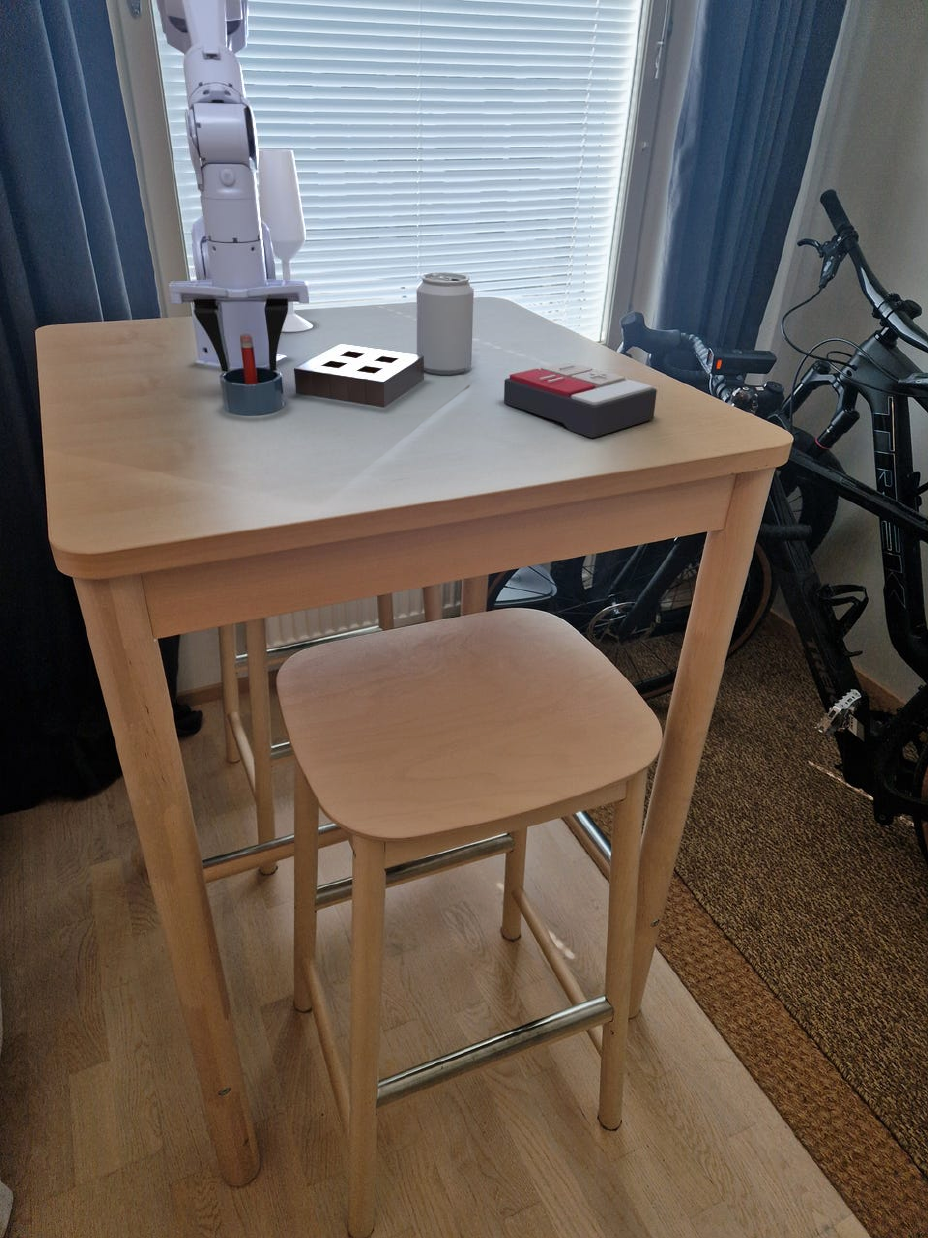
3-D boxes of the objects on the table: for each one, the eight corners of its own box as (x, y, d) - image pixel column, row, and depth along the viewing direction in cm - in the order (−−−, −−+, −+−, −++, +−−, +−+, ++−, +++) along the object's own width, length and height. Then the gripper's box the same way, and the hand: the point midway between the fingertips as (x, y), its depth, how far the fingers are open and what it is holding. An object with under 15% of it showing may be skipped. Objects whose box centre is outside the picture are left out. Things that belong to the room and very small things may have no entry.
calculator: (566, 358, 102) (659, 382, 93) (564, 391, 105) (655, 418, 95) (502, 372, 97) (595, 400, 87) (502, 407, 99) (592, 438, 89)
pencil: (245, 406, 93) (236, 336, 89) (252, 402, 95) (244, 333, 90) (256, 408, 93) (247, 337, 89) (262, 404, 94) (255, 334, 90)
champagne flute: (279, 319, 129) (262, 147, 116) (319, 322, 128) (306, 149, 115) (262, 329, 124) (243, 150, 110) (303, 333, 123) (289, 152, 109)
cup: (212, 414, 92) (207, 379, 90) (246, 396, 98) (242, 363, 95) (263, 423, 90) (259, 388, 88) (295, 404, 96) (292, 371, 94)
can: (465, 378, 106) (468, 282, 99) (410, 373, 107) (409, 278, 100) (475, 363, 112) (479, 271, 105) (424, 358, 113) (424, 267, 107)
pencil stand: (296, 396, 98) (293, 368, 96) (342, 370, 108) (340, 343, 106) (384, 411, 95) (383, 381, 93) (424, 382, 104) (424, 355, 102)
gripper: (156, 244, 79) (179, 380, 87) (304, 245, 82) (314, 377, 89) (166, 233, 85) (187, 361, 93) (304, 234, 87) (313, 359, 95)
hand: (249, 368), depth 91 cm, fingers open, 5 cm apart
